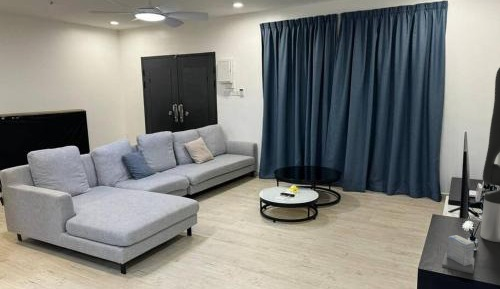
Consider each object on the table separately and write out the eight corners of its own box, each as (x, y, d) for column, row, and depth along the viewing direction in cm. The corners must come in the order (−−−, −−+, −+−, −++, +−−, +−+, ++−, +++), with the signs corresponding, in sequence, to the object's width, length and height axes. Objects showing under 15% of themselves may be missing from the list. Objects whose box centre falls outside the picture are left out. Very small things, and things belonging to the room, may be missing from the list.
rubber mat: (445, 253, 146) (445, 251, 146) (474, 260, 140) (474, 257, 140) (442, 266, 136) (442, 264, 136) (473, 274, 130) (473, 271, 130)
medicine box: (472, 264, 135) (475, 242, 134) (463, 266, 134) (466, 244, 132) (454, 255, 142) (456, 234, 141) (446, 257, 141) (448, 236, 140)
